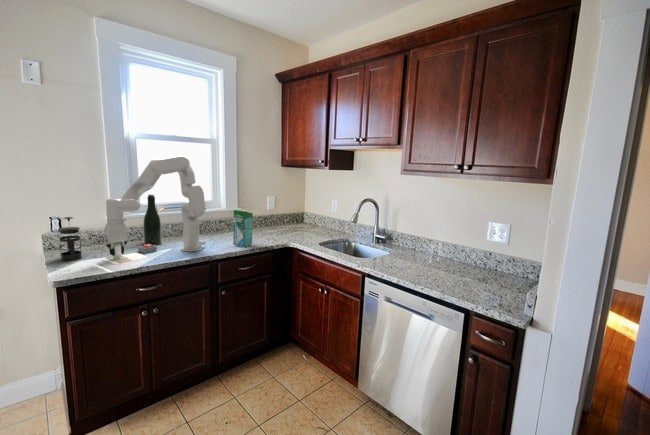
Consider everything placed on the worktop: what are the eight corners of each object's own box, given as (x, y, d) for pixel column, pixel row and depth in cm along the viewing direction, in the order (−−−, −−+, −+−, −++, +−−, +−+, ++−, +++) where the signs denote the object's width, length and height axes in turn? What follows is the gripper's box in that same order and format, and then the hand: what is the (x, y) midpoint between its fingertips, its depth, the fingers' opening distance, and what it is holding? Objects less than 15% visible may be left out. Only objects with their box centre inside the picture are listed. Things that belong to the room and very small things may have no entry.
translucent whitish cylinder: (119, 255, 178) (118, 241, 176) (123, 257, 175) (122, 243, 174) (111, 257, 174) (110, 243, 173) (115, 258, 172) (114, 244, 171)
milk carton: (252, 245, 222) (252, 209, 219) (243, 247, 214) (244, 211, 210) (241, 243, 226) (242, 208, 222) (233, 245, 218) (233, 209, 214)
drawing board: (136, 253, 189) (136, 251, 188) (151, 258, 180) (151, 256, 180) (98, 261, 172) (98, 259, 172) (113, 267, 163) (113, 265, 163)
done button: (149, 248, 194) (148, 243, 193) (152, 249, 192) (152, 244, 191) (142, 249, 190) (142, 244, 190) (146, 250, 188) (146, 246, 188)
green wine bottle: (161, 244, 211) (160, 195, 206) (143, 246, 206) (141, 195, 201) (161, 241, 220) (159, 193, 215) (143, 242, 215) (142, 193, 210)
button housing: (150, 250, 196) (150, 244, 195) (156, 252, 192) (156, 246, 192) (138, 253, 190) (138, 246, 189) (145, 255, 186) (144, 248, 186)
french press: (59, 257, 174) (56, 216, 170) (80, 255, 180) (77, 215, 177) (61, 263, 166) (58, 219, 162) (84, 260, 172) (81, 218, 169)
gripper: (128, 219, 180) (129, 250, 183) (94, 222, 166) (96, 256, 169) (135, 220, 177) (136, 252, 179) (101, 224, 163) (103, 259, 165)
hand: (117, 254), depth 174 cm, fingers closed on translucent whitish cylinder, 4 cm apart
